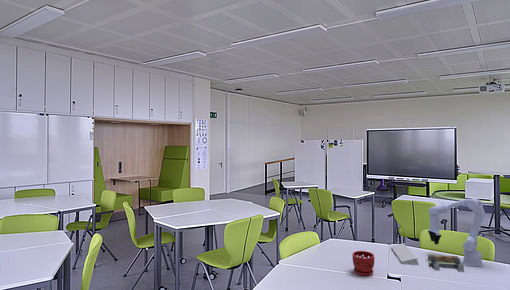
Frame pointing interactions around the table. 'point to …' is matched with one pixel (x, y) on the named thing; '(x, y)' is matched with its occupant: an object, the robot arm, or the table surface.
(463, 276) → the table surface
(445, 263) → the mat
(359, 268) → the plant pot
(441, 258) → the rail
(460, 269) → the standards
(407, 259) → the decorative molding
